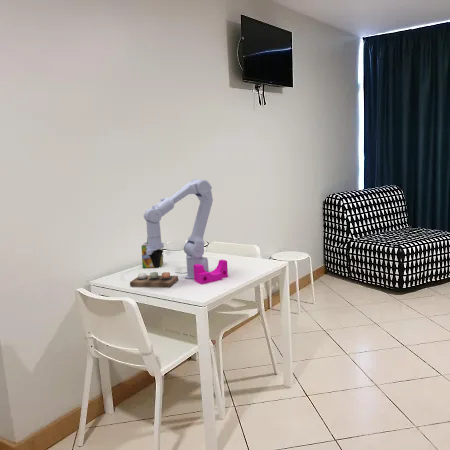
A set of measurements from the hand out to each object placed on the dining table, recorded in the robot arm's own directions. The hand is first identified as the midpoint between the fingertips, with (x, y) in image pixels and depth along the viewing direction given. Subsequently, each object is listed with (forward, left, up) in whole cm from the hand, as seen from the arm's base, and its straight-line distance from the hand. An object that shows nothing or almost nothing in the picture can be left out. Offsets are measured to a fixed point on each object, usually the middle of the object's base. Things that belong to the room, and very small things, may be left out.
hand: (156, 267), depth 192 cm
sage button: (+2, 0, -4) cm, 5 cm away
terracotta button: (-4, 0, -4) cm, 6 cm away
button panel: (+2, 0, -7) cm, 7 cm away
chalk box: (+15, -30, -8) cm, 34 cm away
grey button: (+7, 0, -5) cm, 8 cm away
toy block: (-23, -7, -8) cm, 25 cm away
